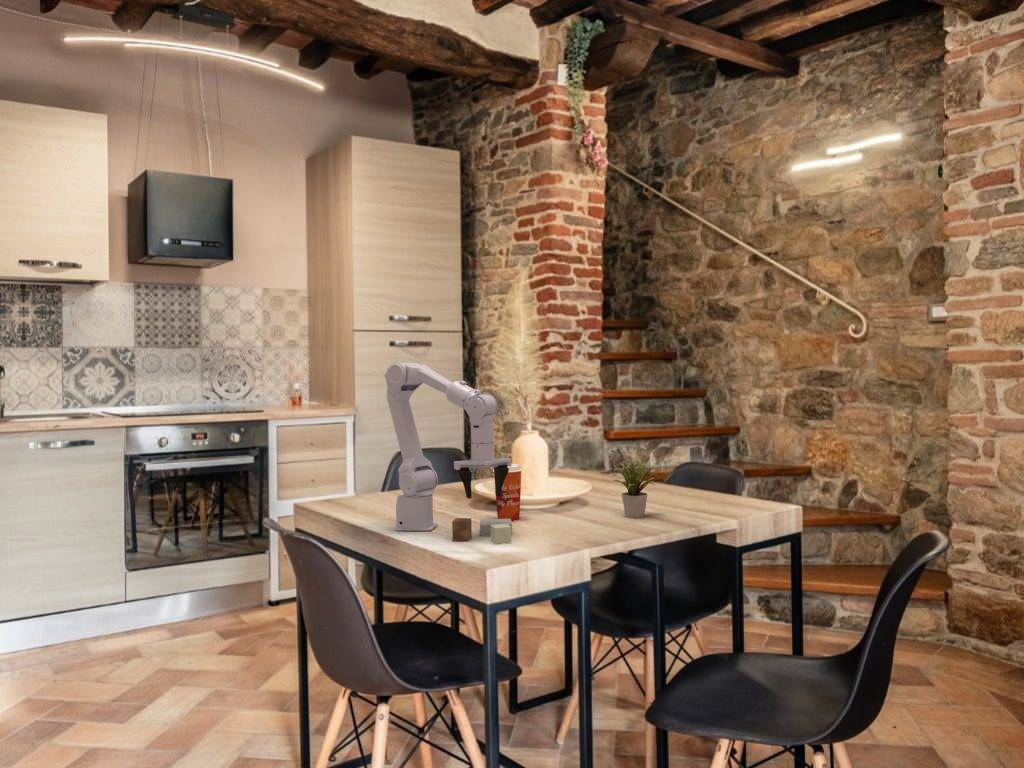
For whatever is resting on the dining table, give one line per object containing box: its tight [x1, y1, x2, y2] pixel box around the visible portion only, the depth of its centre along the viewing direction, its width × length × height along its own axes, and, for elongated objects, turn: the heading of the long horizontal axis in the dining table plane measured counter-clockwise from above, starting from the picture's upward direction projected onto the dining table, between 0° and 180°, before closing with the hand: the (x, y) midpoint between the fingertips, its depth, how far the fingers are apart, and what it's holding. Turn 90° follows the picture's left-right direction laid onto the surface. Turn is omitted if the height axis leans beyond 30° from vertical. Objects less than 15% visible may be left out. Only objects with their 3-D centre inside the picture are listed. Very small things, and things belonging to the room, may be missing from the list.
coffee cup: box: [492, 463, 524, 522], centre depth 227 cm, size 8×8×15 cm
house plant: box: [610, 457, 661, 519], centre depth 227 cm, size 14×14×16 cm
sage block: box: [490, 524, 512, 545], centre depth 200 cm, size 4×4×4 cm
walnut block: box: [451, 517, 473, 543], centre depth 203 cm, size 4×4×5 cm
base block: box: [479, 518, 513, 537], centre depth 211 cm, size 8×8×3 cm
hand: (483, 496), depth 207 cm, fingers open, 7 cm apart
